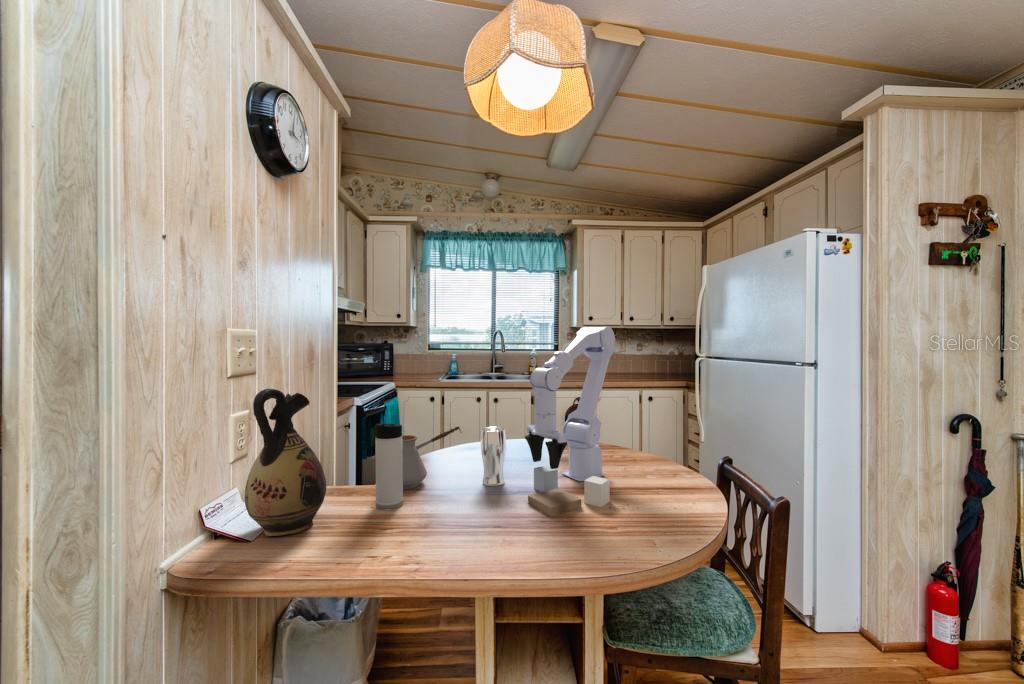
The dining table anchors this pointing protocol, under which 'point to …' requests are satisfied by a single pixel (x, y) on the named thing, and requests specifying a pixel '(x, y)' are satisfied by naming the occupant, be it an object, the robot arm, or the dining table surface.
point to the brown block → (554, 502)
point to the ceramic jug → (283, 470)
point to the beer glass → (493, 454)
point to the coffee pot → (416, 459)
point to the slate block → (545, 478)
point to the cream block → (596, 491)
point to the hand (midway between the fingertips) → (545, 464)
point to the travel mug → (389, 466)
